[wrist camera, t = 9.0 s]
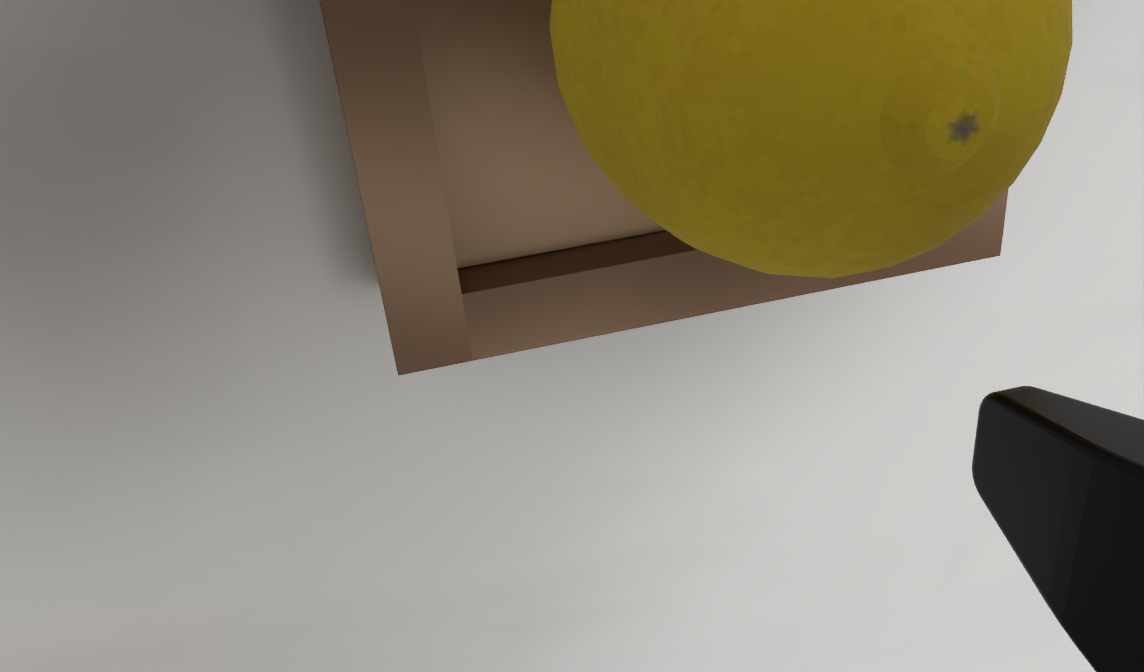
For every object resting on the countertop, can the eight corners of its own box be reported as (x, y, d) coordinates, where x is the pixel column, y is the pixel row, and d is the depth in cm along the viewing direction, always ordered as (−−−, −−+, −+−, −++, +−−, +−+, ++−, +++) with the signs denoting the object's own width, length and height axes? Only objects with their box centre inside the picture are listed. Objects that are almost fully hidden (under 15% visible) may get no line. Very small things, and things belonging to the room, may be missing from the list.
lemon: (491, 144, 16) (625, 404, 10) (519, -251, 14) (726, -282, 7) (805, 155, 18) (1119, 389, 11) (882, -203, 15) (1351, -191, 8)
